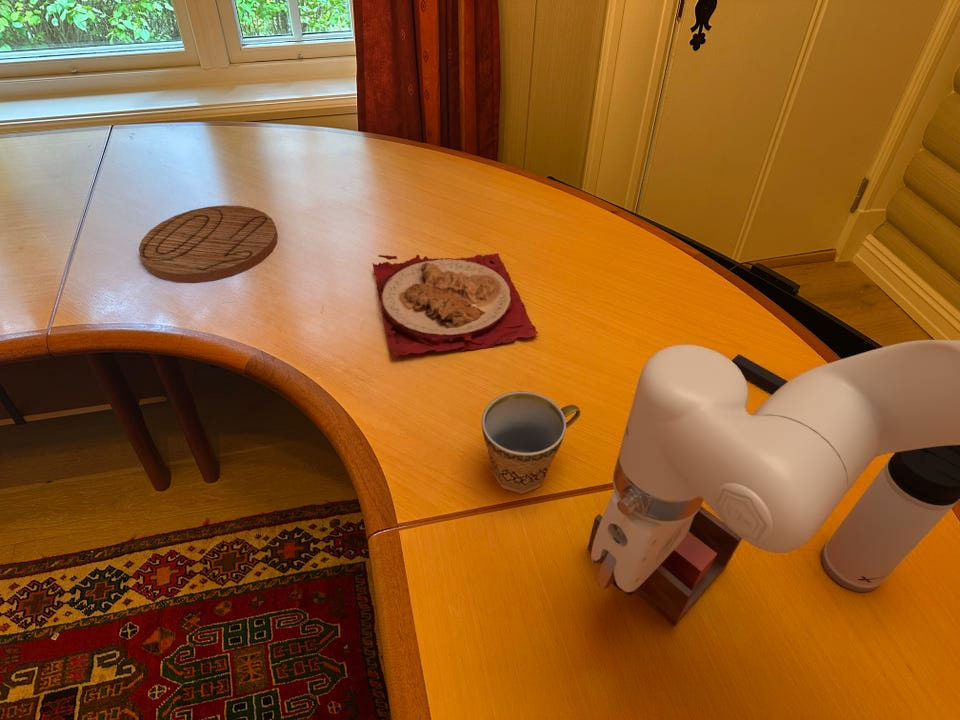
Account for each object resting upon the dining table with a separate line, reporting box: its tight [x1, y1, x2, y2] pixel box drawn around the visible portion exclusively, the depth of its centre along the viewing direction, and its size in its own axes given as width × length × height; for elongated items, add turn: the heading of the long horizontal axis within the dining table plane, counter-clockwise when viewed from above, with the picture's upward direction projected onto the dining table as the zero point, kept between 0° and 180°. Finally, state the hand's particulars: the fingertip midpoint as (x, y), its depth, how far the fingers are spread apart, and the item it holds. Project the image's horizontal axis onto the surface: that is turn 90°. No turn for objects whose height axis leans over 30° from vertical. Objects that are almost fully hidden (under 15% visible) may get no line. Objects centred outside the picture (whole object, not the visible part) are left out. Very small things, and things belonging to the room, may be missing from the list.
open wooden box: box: [587, 505, 743, 627], centre depth 67 cm, size 12×10×7 cm
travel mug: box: [820, 445, 960, 593], centre depth 62 cm, size 6×7×20 cm
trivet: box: [138, 204, 279, 284], centre depth 117 cm, size 25×25×2 cm
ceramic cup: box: [481, 390, 581, 495], centre depth 75 cm, size 13×10×10 cm
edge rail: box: [731, 353, 789, 395], centre depth 87 cm, size 20×2×2 cm, turn 42°
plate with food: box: [372, 252, 539, 357], centre depth 103 cm, size 24×26×4 cm
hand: (622, 581), depth 63 cm, fingers closed
